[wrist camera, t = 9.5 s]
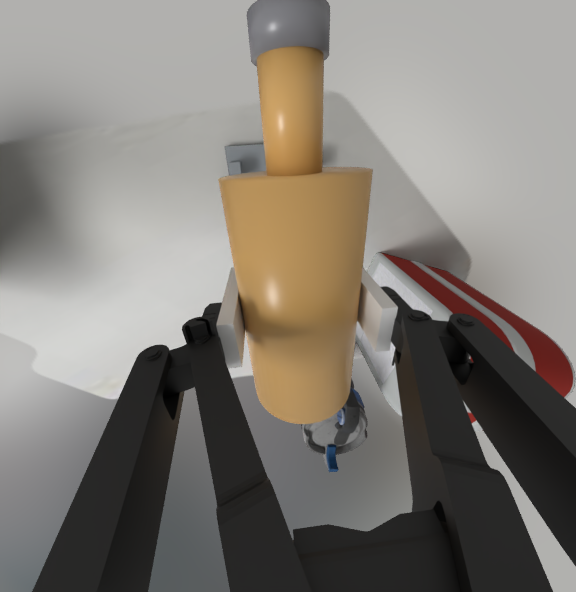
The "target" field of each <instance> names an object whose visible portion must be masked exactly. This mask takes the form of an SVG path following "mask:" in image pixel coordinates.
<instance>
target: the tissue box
mask: <svg viewBox="0 0 576 592" xmlns="http://www.w3.org/2000/svg"><path fill="white" fill-rule="evenodd" d="M367 273H368V274H369V275H370V276H371V277H372V278H373V279H374V281H375V282H376V283H377V284H378V285H379V286H380V287H384V286H387V287H389V288H391V289H393V290H395V291H396V292H397V293H398V294H399V296H400V297H401V298H402V299H403V300H404V301H405V302H406V303H407V304H408V305H409V306H410V307H411V308H412V309H413V310H420V311H423V312H425V313H427V314H428V315H430V317H431V318H432V320H439V321H448V320H449V317H450V315H452V314H455V313H464V314H468V315H471V316H473V317H475V318H477V319H478V320H480V321H481V322H482V323H483V324H484V325H485V326H486V327H488V328H489V329H490V330H491V331H492V332H493V333H494V334H495V335H496V336H497V337H498V338H500V339H501V340H502V341H503V342H504V343H505V344H506V345H507V346H508V347H509V348H510V349H512V350H513V351H514V352H515V353H516V354H517V355H518V356H519V357H520V358H521V359H522V360H524V361H525V362H526V363H527V364H528V365H529V366H530V367H531V368H532V369H533V370H534V371H535V372H537V373H538V374H539V375H540V376H541V377H542V378H543V379H544V380H545V381H546V382H547V383H549V384H550V385H551V386H552V387H553V388H554V389H555V390H556V391H557V392H558V393H559V394H561V395H562V396H563V397H564V398H565V399H566V398H567V397H568V396H569V394H570V393H571V392H572V391H573V389H574V386H575V380H576V378H575V372H574V369H573V366H572V363H571V362H570V360H569V358H568V356H567V355H566V354H565V352H564V351H563V349H561V347H560V346H559V345H558V344H557V343H556V342H555V341H554V340H552V339H551V338H550V337H549V336H548V335H546V334H545V333H544V332H542V331H541V330H539V329H538V328H536V327H534V326H533V325H531V324H530V323H528V322H526V321H525V320H523V319H522V318H520V317H519V316H517V315H515V314H514V313H512V312H511V311H509V310H508V309H506V308H505V307H503V306H501V305H500V304H498V303H496V302H495V301H494V300H492V299H490V298H488V297H487V296H485V295H484V294H482V293H481V292H479V291H478V290H476V289H475V288H473V287H471V286H470V285H468V284H467V283H465V282H464V281H462V280H460V279H459V278H457V277H456V276H454V275H453V274H451V273H449V272H447V271H444V270H440V269H437V268H433V267H430V266H426V265H423V264H422V263H420V262H416V261H413V260H410V261H409V260H405V259H402V258H398V257H395V256H391V255H388V254H384V253H380V252H378V253H376V255H375V256H374V258H373V260H372V262H371V264H370V266H369V268H368V270H367ZM355 340H356V342H357V344H358V346H359V348H360V350H361V352H362V354H363V356H364V358H365V360H366V362H367V364H368V366H369V368H370V370H371V372H372V374H373V376H374V378H375V380H376V381H377V384H378V386H379V388H380V390H381V392H382V393H383V395H384V397H385V399H386V400H387V401H388V403H389V404H390V406H391V407H392V408H393V409H394V410H395V411H396V412H397V413H398V414H399V415H400V416H402V412H401V404H400V397H399V389H398V382H397V374H396V367H395V363H394V366H392V361H393V356H394V352H395V347H394V345H393V344H392V342H391V345H390V350H389V351H382V352H375V351H374V349H373V347H372V345H371V344H370V342H369V340H368V338H367V337H366V335H365V333H364V331H363V330H362V328H361V326H360V324H359V323H358V321H357V327H356V337H355ZM469 359H470V360H471V361H472V362H473V360H472V357H471V356H470V357H469ZM463 402H464V401H463ZM464 405H465V407H466V410H467V412H468V415H469V418H470V420H471V423H472V426H473V428H474V431H481V430H483V429H482V428H481V426H480V425H479V423H478V422H477V420H476V419H475V417H474V416H473V414H472V413H471V411H470V410H469V409H468V407H467V406H466V404H465V403H464Z"/></svg>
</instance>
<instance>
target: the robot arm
mask: <svg viewBox="0 0 576 592" xmlns="http://www.w3.org/2000/svg"><path fill="white" fill-rule="evenodd" d="M357 321H358V323H359V324H360V326H361V328H362V330H363V331H364V333H365V335H366V337H367V338H368V340H369V342H370V344H371V345H372V347H373V349H374V351H375V352H382V351H389V350H390V345H391V342H392V344H393V345H394V347H395V352H394V356H393V361H392V366H394V363H395V367H396V374H397V382H398V389H399V397H400V404H401V412H402V419H403V426H404V434H405V441H406V448H407V457H408V464H409V471H410V480H411V487H412V495H413V505H412V512H411V513H404V514H399V515H397V516H396V517H394V518H392V519H390V520H389V521H387V522H385V523H383V524H382V525H380V526H378V527H376V528H374V529H373V530H371V531H368V532H365V531H359V530H354V529H349V528H343V527H339V526H334V525H321V526H314V527H307V528H300V529H294V530H293V534H294V540H292V538H291V535H290V532H289V530H288V527H287V524H286V522H285V519H284V516H283V514H282V511H281V508H280V505H279V503H278V500H277V497H276V494H275V492H274V489H273V487H272V484H271V482H270V480H269V478H268V477H267V475H266V472H265V469H264V467H263V464H262V461H261V458H260V456H259V453H258V450H257V448H256V445H255V442H254V439H253V436H252V434H251V431H250V428H249V426H248V423H247V420H246V417H245V414H244V412H243V409H242V406H241V404H240V401H239V398H238V395H237V393H236V390H235V387H234V384H233V381H232V379H231V376H230V373H229V371H228V368H236V367H242V361H243V350H244V339H245V325H244V319H243V314H242V308H241V303H240V297H239V291H238V286H237V280H236V275H235V269H234V268H231V271H230V275H229V278H228V282H227V286H226V290H225V294H224V297H223V301H222V303H213V304H209V305H208V306H207V307H206V308H205V310H204V313H203V316H202V317H197V318H193V319H191V320H189V321H187V322H186V323H185V324H184V325H183V327H182V331H183V334H184V337H185V340H186V343H187V344H186V345H184V346H182V347H179V348H176V349H173V350H170V351H169V348H168V347H167V346H165V345H155V346H151V347H149V348H147V349H145V350H144V351H142V352H141V353H140V354H139V355H138V357H137V359H136V361H135V363H134V365H133V367H132V370H131V372H130V374H129V376H128V379H127V381H126V383H125V385H124V388H123V390H122V392H121V394H120V397H119V399H118V401H117V403H116V406H115V408H114V410H113V412H112V414H111V417H110V419H109V421H108V423H107V426H106V428H105V430H104V433H103V435H102V437H101V439H100V441H99V444H98V446H97V448H96V450H95V452H94V455H93V457H92V459H91V462H90V464H89V466H88V468H87V470H86V473H85V475H84V477H83V479H82V482H81V484H80V486H79V488H78V491H77V493H76V495H75V497H74V500H73V502H72V504H71V506H70V508H69V511H68V513H67V516H66V517H65V520H64V522H63V524H62V526H61V529H60V531H59V533H58V535H57V538H56V540H55V542H54V544H53V546H52V549H51V551H50V553H49V555H48V558H47V560H46V562H45V565H44V567H43V569H42V571H41V573H40V576H39V578H38V580H37V582H36V585H35V587H34V589H33V591H32V592H148V589H149V583H150V577H151V572H152V567H153V561H154V556H155V550H156V545H157V539H158V534H159V528H160V522H161V517H162V512H163V506H164V501H165V494H166V490H167V484H168V479H169V473H170V468H171V462H172V456H173V451H174V445H175V440H176V434H177V429H178V424H179V418H180V412H181V407H182V402H183V396H184V391H185V390H188V389H191V388H193V387H195V389H196V395H197V400H198V405H199V411H200V416H201V421H202V426H203V432H204V437H205V442H206V447H207V453H208V458H209V463H210V468H211V473H212V479H213V484H214V490H215V495H216V500H217V509H216V511H217V520H218V525H219V532H220V537H221V543H222V548H223V554H224V559H225V565H226V570H227V576H228V581H229V587H230V592H553V590H552V588H551V586H550V583H549V581H548V579H547V576H546V574H545V571H544V569H543V567H542V564H541V562H540V559H539V557H538V555H537V552H536V550H535V548H534V545H533V543H532V541H531V538H530V536H529V533H528V531H527V529H526V526H525V524H524V521H523V519H522V517H521V514H520V512H519V510H518V507H517V505H516V502H515V500H514V497H513V496H512V493H511V490H510V488H509V486H508V484H507V482H506V480H505V478H504V476H503V475H502V474H501V473H500V472H499V471H498V470H495V469H492V468H490V467H489V465H488V464H487V462H486V460H485V457H484V455H483V452H482V449H481V447H480V444H479V441H478V439H477V436H476V434H475V431H474V428H473V426H472V423H471V420H470V418H469V415H468V412H467V410H466V407H465V405H464V403H465V404H466V406H467V407H468V409H469V410H470V411H471V413H472V414H473V416H474V417H475V419H476V420H477V422H478V423H479V425H480V426H481V428H482V429H483V431H484V432H485V434H486V435H487V437H488V438H489V440H490V441H491V443H492V444H493V445H494V447H495V449H496V450H497V452H498V453H499V455H500V456H501V457H502V459H503V460H504V462H505V463H506V465H507V466H508V468H509V469H510V471H511V472H512V474H513V475H514V477H515V478H516V480H517V481H518V483H519V484H520V486H521V487H522V488H523V490H524V492H525V493H526V495H527V496H528V498H529V499H530V501H531V502H532V504H533V505H534V507H535V508H536V509H537V511H538V512H539V514H540V515H541V517H542V518H543V520H544V521H545V523H546V524H547V526H548V527H549V529H550V530H551V532H552V533H553V535H554V536H555V538H556V539H557V541H558V542H559V544H560V545H561V546H562V548H563V549H564V551H565V552H566V553H567V555H568V556H569V557H570V559H571V560H572V562H573V563H574V565H575V566H576V408H575V407H574V406H573V405H571V404H570V403H569V402H568V401H567V400H566V399H565V398H564V397H563V396H562V395H561V394H559V393H558V392H557V391H556V390H555V389H554V388H553V387H552V386H551V385H550V384H549V383H547V382H546V381H545V380H544V379H543V378H542V377H541V376H540V375H539V374H538V373H537V372H535V371H534V370H533V369H532V368H531V367H530V366H529V365H528V364H527V363H526V362H525V361H524V360H522V359H521V358H520V357H519V356H518V355H517V354H516V353H515V352H514V351H513V350H512V349H510V348H509V347H508V346H507V345H506V344H505V343H504V342H503V341H502V340H501V339H500V338H498V337H497V336H496V335H495V334H494V333H493V332H492V331H491V330H490V329H489V328H488V327H486V326H485V325H484V324H483V323H482V322H481V321H480V320H478V319H477V318H475V317H473V316H471V315H468V314H464V313H455V314H452V315H450V317H449V320H448V321H439V320H432V318H431V317H430V315H428V314H427V313H425V312H423V311H420V310H413V309H412V308H411V307H410V306H409V305H408V304H407V303H406V302H405V301H404V300H403V299H402V298H401V297H400V296H399V294H398V293H397V292H396V291H395V290H393V289H391V288H389V287H387V286H384V287H380V286H379V285H378V284H377V283H376V282H375V281H374V279H373V278H372V277H371V276H370V275H369V274H368V273H367V272H366V270H365V269H364V268H363V269H362V279H361V288H360V298H359V308H358V318H357ZM470 356H471V357H472V360H473V362H472V361H471V360H470V359H469V357H470ZM463 401H464V402H463Z"/></svg>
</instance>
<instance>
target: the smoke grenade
mask: <svg viewBox="0 0 576 592" xmlns="http://www.w3.org/2000/svg"><path fill="white" fill-rule="evenodd" d="M301 426H302V431H303V436H304V441H305V443H306V445H307V447H308V448H309V449H310V450H311V451H313V452H315V453H318V454H322V455H323V457H324V461H325V463H326V466H327V468H328V471H329V472H337V471H338V467H337V463H336V456H335V455H337V454H342V453H346V452H348V451H351V450H353V449H355V448H357V447H358V446H360V445H361V444H362V443H363V442H364V441H365V440H366V438H367V431H366V427H367V418H366V415H365V411H364V405H363V402H362V400H361V397H360V395H359V394H358V392H356V391H355V390H354V384H353V381H352V378H351V386H350V393H349V396H348V399H347V401H346V403H345V404H344V406H343V407H342V408H341V409H340V410H339V411H338V412H337V413H336V414H334V415H333V416H331V417H330V418H328V419H326V420H323V421H320V422H316V423H311V424H301Z"/></svg>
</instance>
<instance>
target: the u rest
mask: <svg viewBox="0 0 576 592" xmlns="http://www.w3.org/2000/svg"><path fill="white" fill-rule="evenodd" d="M225 152H226V158H227V164H228V170H229V176H230V175H236V174H243V173H251V172H260V171H266V161H265V150H264V144H256V145H240V146H225Z"/></svg>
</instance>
